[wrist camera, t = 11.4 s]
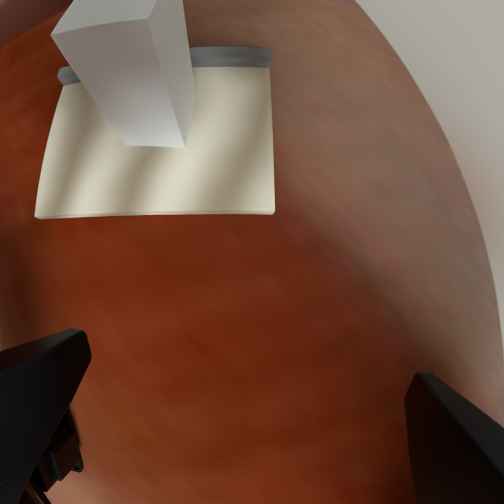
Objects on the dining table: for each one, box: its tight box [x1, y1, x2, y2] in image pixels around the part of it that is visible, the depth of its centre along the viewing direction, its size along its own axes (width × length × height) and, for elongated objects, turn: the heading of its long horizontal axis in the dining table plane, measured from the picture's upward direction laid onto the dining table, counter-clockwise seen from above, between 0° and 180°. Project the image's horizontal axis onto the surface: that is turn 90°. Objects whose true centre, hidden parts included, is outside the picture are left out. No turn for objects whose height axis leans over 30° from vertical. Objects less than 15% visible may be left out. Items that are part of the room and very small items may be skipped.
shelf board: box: [35, 47, 275, 219], centre depth 20 cm, size 18×13×2 cm
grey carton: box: [50, 0, 196, 148], centre depth 14 cm, size 5×4×12 cm
